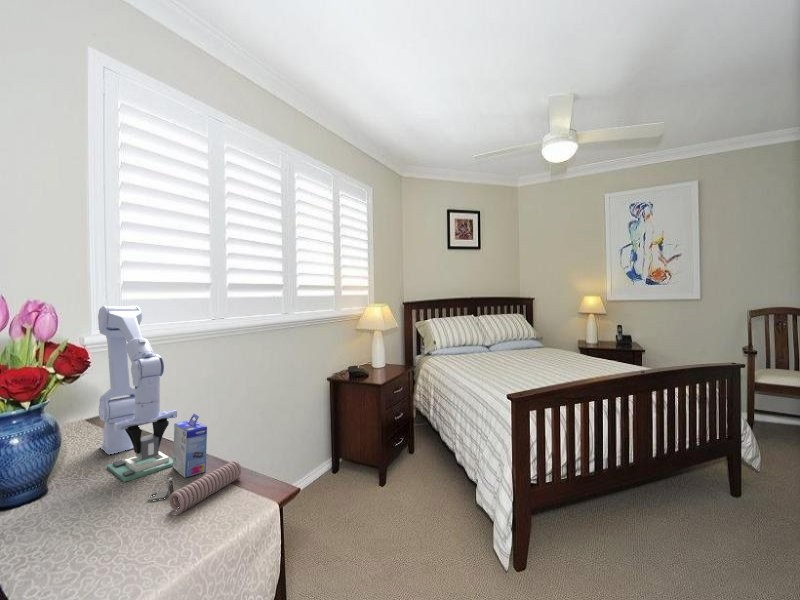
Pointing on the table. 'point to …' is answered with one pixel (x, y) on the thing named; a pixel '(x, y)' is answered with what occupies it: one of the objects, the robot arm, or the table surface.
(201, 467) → the ink cartridge box
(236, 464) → the coil
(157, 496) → the strap clip
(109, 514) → the table surface
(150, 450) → the plug
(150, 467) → the board
